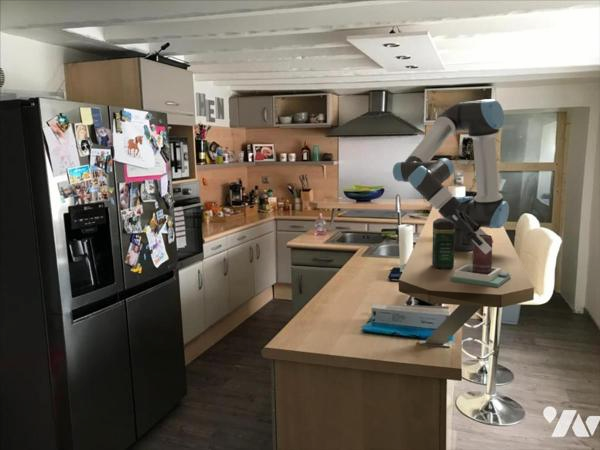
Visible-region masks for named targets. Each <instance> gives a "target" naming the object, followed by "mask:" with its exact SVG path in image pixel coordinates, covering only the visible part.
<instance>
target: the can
mask: <svg viewBox="0 0 600 450" xmlns="http://www.w3.org/2000/svg"><path fill="white" fill-rule="evenodd" d="M479 236H480V237H481V238H482V239H483V240H484V241H485V242H486V243H487V244H488V245H489V246H490V247H491V248H492V250H490V251H489V252H488V253H487V254H485V253H484V252H483V251H482V250H481V249H480V248H479V247H478V246H477V245H476V244H475V243H474V242H473V250H472V265H473V271H472V273H478V274H486V275H488V274H490V273H491V268H492V265H493V264H492V263H493V243H492V240H493V236H492V235H489V234H487V235H479Z"/></svg>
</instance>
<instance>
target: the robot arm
mask: <svg viewBox="0 0 600 450" xmlns="http://www.w3.org/2000/svg"><path fill="white" fill-rule="evenodd" d="M504 115H505V113H504V109H503V107H502V104H501V103H500V102H499V101H498V100H496V99H479V100H477V99H476V100H470V101H460V102H457V103H454V104H453V105H451V106H448V108H446V109H445V110H443V111H442V112H441V113H440V114H439V115H438V116H437V117H436V119H434V121H433V126H432V127H431V128H430V130H429V131H428V132H427V133H426V135H425V136H423V138H422V139H421V141H420V142H419V143H418V145H417V146H416V147H415V149H414V150H413V151H412V152H411V154H409V156H408V157H407V158H406V159H405V161H399V162H395V164H394V165H393V168H392V176H393V179H395V181H398V182H404V183H409V184H410V185H411V186H412V187H413V189H415V190H416V191H417V192H418V193H419V194H420V195H421V196H422V197H423V198H424V199H425V200H426V201H427V202H428V203H429V207H433V208H434V209H435V210H437V211H438V213H439V214H440V215H441V216H442V218H446V219H448V220H450V221H452V222H454V223H455V240H454V252H467V251H473V242H474V243H475V244H476V245H477V246H478V247H479V248H480V249H481V250H482V251H483V252H484V253H485V254H487V253H488V252H489V251H490V250H492V251H493V247H492V248H491V247H490V246H489V245H488V244H487V243H486V242H485V241H484V240H483V239H482V238H481V237H480V236H479V235H488V233H486V232H485V231H484V230H483V229H482V228H484V229H485V228H487V229H501V228H502V227H504V226H505V224H506V223H507V221H508V218H509V213H510V205H509V203H508V202H507V201H506V200H504V196H503V194H502V193H500V192H499V180H498V179H499V177H498V163H497V161H498V160H497V148H496V147H497V146H496V136H497V135H498V134H499V133H500V130H499V129H501V128H502V127H503V126H504V121H505V116H504ZM461 131H468V137H469V138H470V139H472V144H473V145H472V146H473V159H474V160H473V161H474V169H475V182H476V183H475V185H476V195H475V196H473V195H472V196H461V197H455V196H453V193H452V192H451V191H450V190H448V189H447V187H445V186H444V185H443V183H444V182H446V181H447V180H448V179H450V177H451V176H452V175H453V174H454V171H455V166H454V164H453V162H452V160H450V159H448V158H445V157H442V158H439V159H437V160H436V161H431V160H432V159H433V158H434V156H435V155H436V153H437V152H438V151H439V150H440V148H441V147H442V146H443V145H444V143H445V142H446V141H447V140H448V138H450V137H452V136H454V134H455V133H456V132H461ZM494 242H495V241H494V240H493V239H492V244H493V243H494Z"/></svg>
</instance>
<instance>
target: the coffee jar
mask: <svg viewBox="0 0 600 450" xmlns="http://www.w3.org/2000/svg"><path fill="white" fill-rule="evenodd" d="M454 240H455V223H454V222H452V221H450V220H448V219H446V218H444V217H442V218H436V219H435V220H433V222H432V251H431V252H432V253H431V255H432V256H431V264H432V266H433V267H434V268H437V269H443V270H447V269H453V268H454V266H455V251H454Z"/></svg>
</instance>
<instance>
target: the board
mask: <svg viewBox="0 0 600 450" xmlns="http://www.w3.org/2000/svg"><path fill="white" fill-rule="evenodd" d="M453 271H454V272H453V275H450V277H449V280H450V281H453V282H459V283H465V284H466V283H467V284H473V285H479V286H487V287H493V288H499V287H500V286H501V285H503V284H504V283H506V282H507V281H508V280H510V279H511V274H510V273H509V272H506V271H505V272H504V271H502V268H501V267H500V268H499V267H492V268H491V273H490V274H488V275H486V274H478V273H472V271H473V264H464V265H462V266H461V267H459V268H457V269H456V270H453Z"/></svg>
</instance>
